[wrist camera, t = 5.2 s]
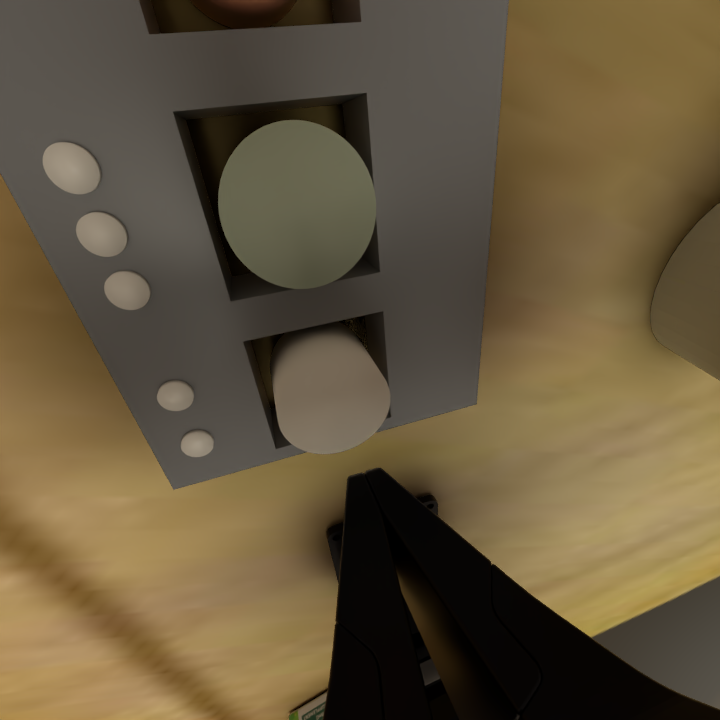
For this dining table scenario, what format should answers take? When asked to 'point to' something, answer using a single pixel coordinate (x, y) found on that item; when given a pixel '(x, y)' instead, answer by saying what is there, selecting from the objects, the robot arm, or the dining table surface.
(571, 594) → the dining table surface
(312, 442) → the button cream
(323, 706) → the syrup box
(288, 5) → the button terracotta
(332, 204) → the button sage
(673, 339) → the reusable coffee cup
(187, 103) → the button panel
